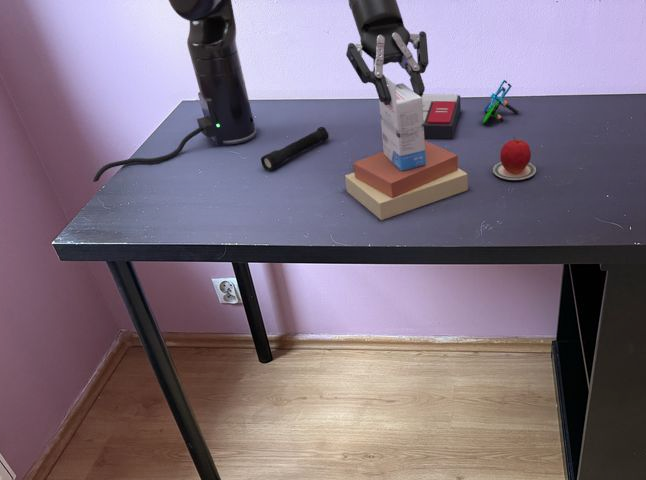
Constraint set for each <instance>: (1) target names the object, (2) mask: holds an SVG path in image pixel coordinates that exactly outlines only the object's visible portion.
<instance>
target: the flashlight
mask: <svg viewBox="0 0 646 480" xmlns="http://www.w3.org/2000/svg"><path fill="white" fill-rule="evenodd" d="M328 140H329V132H328V130H327V129H326V128H325V126H320V127H317V129H316V130H315V131H313V132H311V133H309V134H307V135H305V136H303V137H301V138H300V139H298V140H295V141H294V142H293V141H292V143H290V144H288V145H286V146H284V147H282V148H280V149H278V150H277V149H276V150H273V151H270V152H269V153H267V154H264V155H262V156H261V158H260V163H261V165H262V167H263V169H265V170H266V172H267V171H268V172H271V171H273V170H274V169H276V168H278V167H279V166H281V165H282V164H284V163H285V162H286V161H287V160H289V159H291V158H293V157H295V156H297V155H299V154H300V153H303V152H304V151H307V150H308V149H310V148H312V147H314V146H315V145H318V144H320V143H321V142H326V141H328Z"/></svg>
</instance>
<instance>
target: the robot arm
mask: <svg viewBox="0 0 646 480" xmlns="http://www.w3.org/2000/svg"><path fill="white" fill-rule="evenodd" d="M347 1H348V6H349V9H350V10H351V14H352V18H353V20H354V22H355V26H356V29H357V32H358V35H359V38H360V39H359V40H360V41H359V42H357V43H353V42H349V43H348V44H347V49H346V53H345V56H346V57H347V60H348V61H349V62H350V64H351V66H352V67H353V69H354V72H355V73H356V74H357V76H358V78H359V80H360V81H361V83H363V84H366V85H367V84H368V83H370V84H372V85H374V87H375V90H376V93H377V96H378V101H379V100H380V101H381V102H384V104H385V105H390V102H391V96H390V93H389V90H388V87H387V86H388V85H387V84H386V81H385V78H383V77H382V75H383V74H384V66H385V65H388V64H390V63H394V64H396V63H397V64H398V65H399V66H400V68H401V69H404V70H405V72H406V73H407V75H408V76H409V77H410V78H409V82H410V85H411V89H412V91H413V92H415V93H416V94H417V95H419V96H420V97H422V95H423V94H425V93H424V92H425V90H426V87H425V84H424V80H423V78H422V75H421V74H424V73H426V70H427V67H428V66H429V63H430V61H429V51H428V39H427V33H426V31H424V30H422V31H420V32H419V33H410V31H409V30H408V29H407V28H406V26H405V25H404V20H403V17H402V13H401V11H400V8H399V5H398V1H397V0H347ZM168 2H169V5H170V6H171V8H172V9H173V11H174V12H175V13H176V14H177V15H178V16H179V17H181V19H183V20H185V21H188V22H189V31H188V36H187V40H186V46H187V49H188V53H189V56H190V59H191V63H192V64H191V65H192V67H193V68H192V69H193V70H194V75H195V78H196V82H197V86H198V90H199V92H197V96H198V99H199V104H200V107H201V110H202V114H203V117H198V118H196V121H197V125H198V128H196V129H195V130H193V131H191V132H190V133H188V134H187V135H186V136H185V137H184V138H183V139H182V140H181V142H180V143H179V145H178V147H177V148H176V149H174V150H173V151H172V152H170V153H168V154H165V155H161V156H157V157H151V158H143V157H134V158H133V157H132V158H127V159H123V160H118V161H113V162H109V163H107V164H105V165H103V166H102V167H101V168H99V170H97V172H96V173H95V175H94V177H93V180H92V182H94V183H96V182H99V180H100V179H101V177H102V175H103V174H104V173H105V172H106V171H107V170H110V169H111V168H112V169H113V168H115V167H120V166H126V165H129V164H130V165H131V164H134V163H135V164H137V163H143V164H154V163H159V162H163V161H167V160H170V159H173V158H174V157H176V156H177V155H179V154H180V153H181V152H182V151H183V149H184V147H185V145H186V144H187V143H188V141H190V140H191V139H192V138H194V137H195V136H197V135H198V134H200V133H202V134H203V136H205V137H206V139H209V138H210V139H211V140H212V141H213V142H214V143H215V144H216V145H217V146H219V147H220V146H221V147H222V146H228V145H229V146H230V145H238V144H242V143H246V142H248V141H251V140H252V139H254V138H255V137H256V135H257V127H255V121H254V119H255V118H254V116H253V115H254V114H253V112H252V108H251V103H250V99H249V95H248V90H247V86H246V80H245V77H244V73H243V67H242V64H241V60H240V54H239V50H238V46H237V25H236V19H235V14H234V13H235V12H234V8H233V3H232V0H168ZM409 43H411V45H412V47H413V48H414V50H416V60H417V61H416V60H415V58H414V56H413V53H412V52H411V50H410V49H409V48H408V45H409ZM363 52H364V53H365V54H366V55H368V57H370V58H371V59H372V70H371V69H370V68H369V66H368V64H367V63H366V61H365V60H364V57H362V56H363Z"/></svg>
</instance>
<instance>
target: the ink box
mask: <svg viewBox="0 0 646 480" xmlns="http://www.w3.org/2000/svg"><path fill="white" fill-rule="evenodd" d="M382 77H383V78H385V81H386V84H387V87H388V90H389V93H390V96H391V102H390V105H385V104H384V102H381V101H380V100H379V99H378V104H379V105H378V106H379V113H380V114H379V117H380V125H381V126H380V127H381V138H382V149H383V151H384V154H385V155H386V156H387V157H388V158H389V159H390V160H391V161H392V162H393V163H394V164H395V165H396V166H397V167H398V168H399V169H400V170H401V171H404V170H408V169H412V168H416V167H420V166H424V165H426V157H425V141H426V140H425V138H424V122H423V101H422V100H423V98H421V97H420V96H419V95H417V94H416V93H415V92H414V91H413V89H412V88H410V87H408V86H407V85H406V84H405V83H403V82H402V83H401V82H400V83H398V84H397V83H395V82H394V81H393V80H391V79H390V78H389V77H388V76H387V75H385V74H384V73H383V75H382Z"/></svg>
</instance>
